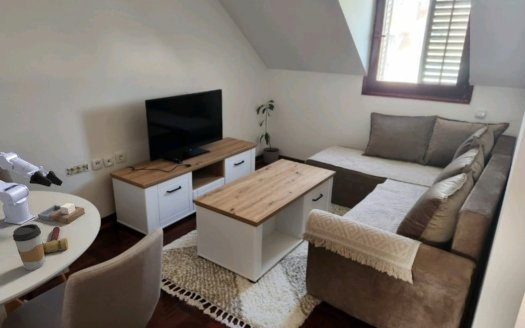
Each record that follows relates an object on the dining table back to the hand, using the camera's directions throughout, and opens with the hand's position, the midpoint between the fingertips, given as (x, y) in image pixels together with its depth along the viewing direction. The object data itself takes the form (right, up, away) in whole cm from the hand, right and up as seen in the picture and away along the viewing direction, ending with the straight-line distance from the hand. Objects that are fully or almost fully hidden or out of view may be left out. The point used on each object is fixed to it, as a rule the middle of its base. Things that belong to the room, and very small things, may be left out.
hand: (56, 184), depth 147 cm
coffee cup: (+5, -29, -20) cm, 35 cm away
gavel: (+3, -23, -5) cm, 24 cm away
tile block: (-1, -13, +11) cm, 17 cm away
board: (-2, -16, +13) cm, 20 cm away
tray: (-10, -15, +15) cm, 23 cm away
